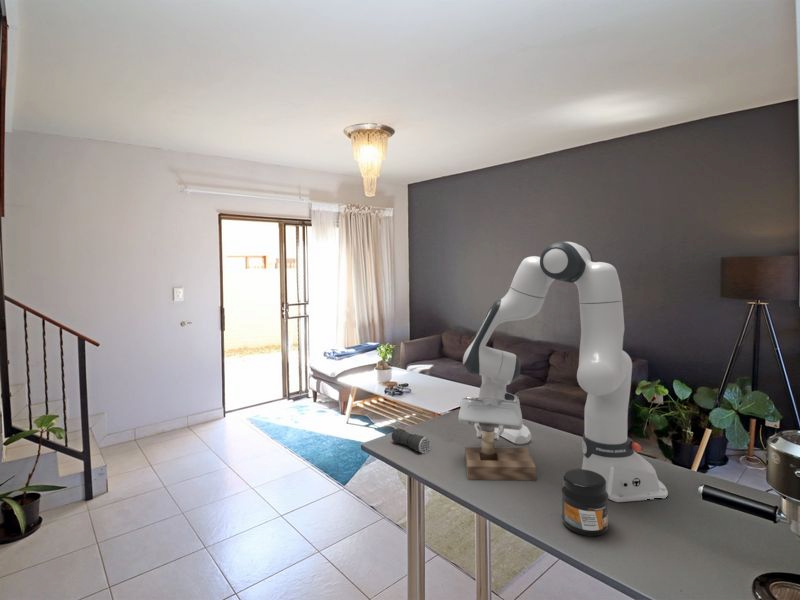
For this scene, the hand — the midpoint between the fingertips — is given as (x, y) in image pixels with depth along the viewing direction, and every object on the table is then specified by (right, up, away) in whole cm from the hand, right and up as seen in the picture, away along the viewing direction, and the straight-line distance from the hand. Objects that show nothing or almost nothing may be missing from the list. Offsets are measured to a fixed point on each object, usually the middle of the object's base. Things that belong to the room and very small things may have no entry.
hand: (487, 438), depth 135 cm
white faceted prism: (+13, -8, +30) cm, 33 cm away
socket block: (+4, -10, +1) cm, 10 cm away
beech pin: (0, -4, +1) cm, 4 cm away
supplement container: (+18, -12, -30) cm, 36 cm away
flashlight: (-23, -10, +20) cm, 32 cm away
